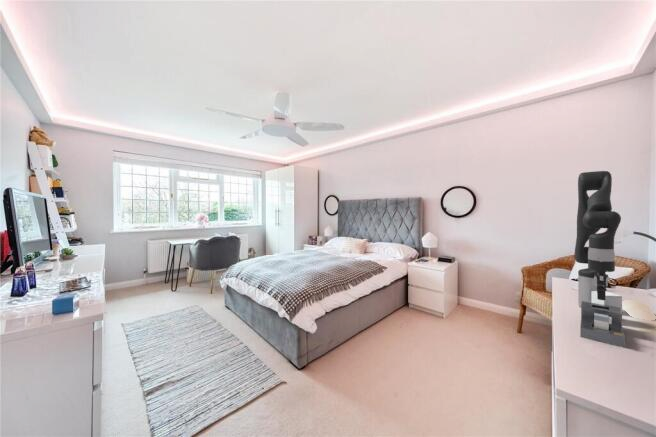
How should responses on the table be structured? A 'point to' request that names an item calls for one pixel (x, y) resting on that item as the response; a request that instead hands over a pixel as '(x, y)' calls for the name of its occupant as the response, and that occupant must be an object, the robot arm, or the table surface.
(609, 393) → the table surface
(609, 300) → the supplement box
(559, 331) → the table surface
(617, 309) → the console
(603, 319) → the plug
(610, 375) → the table surface
